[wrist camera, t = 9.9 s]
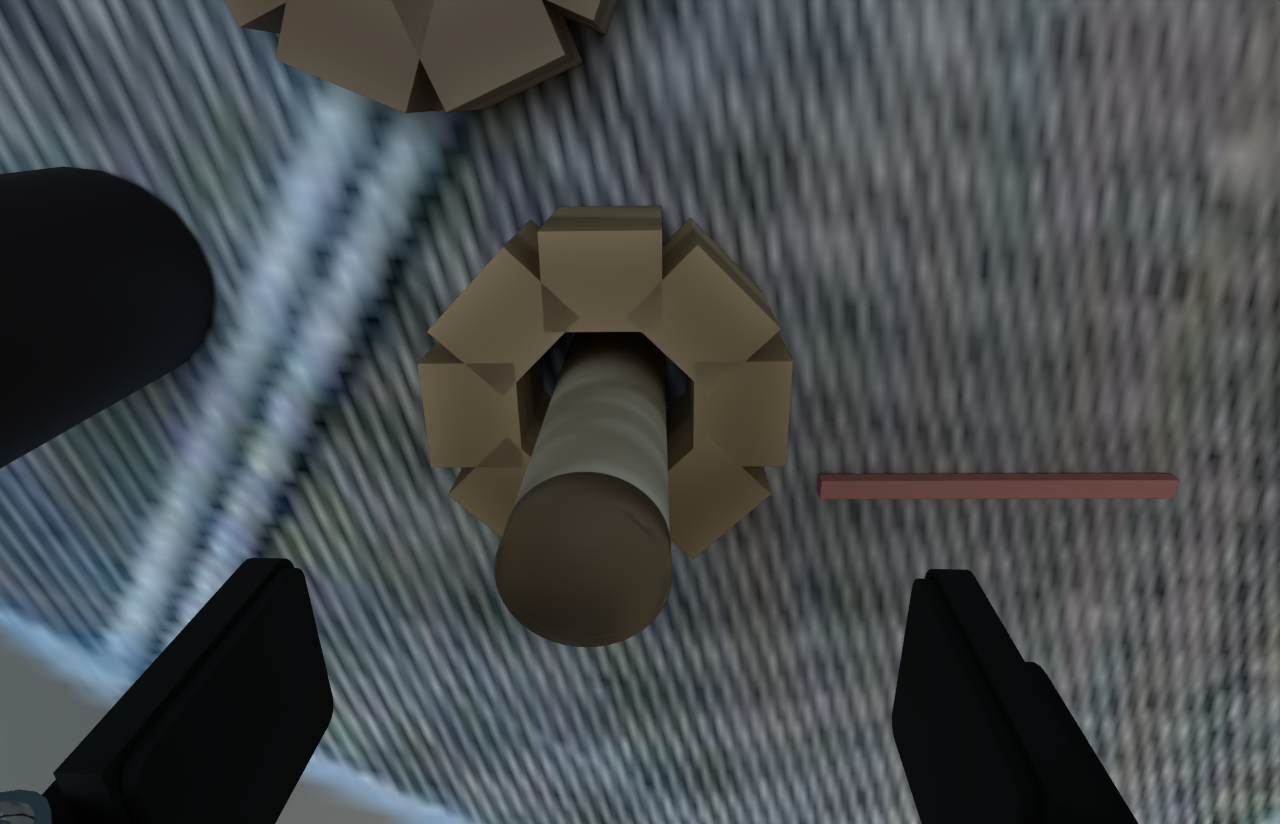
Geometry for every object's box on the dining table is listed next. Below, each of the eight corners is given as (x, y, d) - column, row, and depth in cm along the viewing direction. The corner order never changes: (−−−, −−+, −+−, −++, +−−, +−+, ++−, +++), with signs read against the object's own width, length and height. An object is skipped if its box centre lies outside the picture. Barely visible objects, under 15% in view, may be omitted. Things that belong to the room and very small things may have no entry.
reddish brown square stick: (1170, 473, 26) (1179, 480, 26) (1165, 491, 26) (1174, 498, 26) (819, 474, 26) (821, 481, 26) (817, 492, 27) (820, 498, 26)
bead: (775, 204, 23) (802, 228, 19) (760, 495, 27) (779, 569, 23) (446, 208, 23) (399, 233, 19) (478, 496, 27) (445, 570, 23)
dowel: (665, 313, 24) (671, 497, 13) (665, 407, 25) (671, 647, 14) (564, 314, 24) (486, 498, 13) (569, 407, 26) (501, 647, 14)
